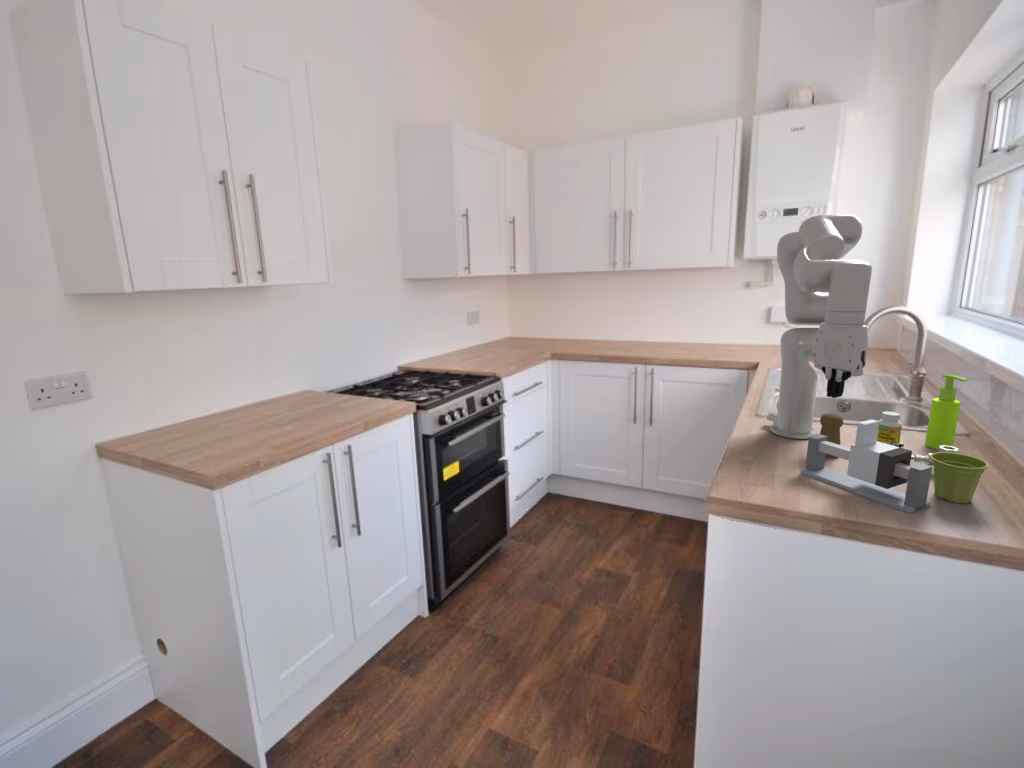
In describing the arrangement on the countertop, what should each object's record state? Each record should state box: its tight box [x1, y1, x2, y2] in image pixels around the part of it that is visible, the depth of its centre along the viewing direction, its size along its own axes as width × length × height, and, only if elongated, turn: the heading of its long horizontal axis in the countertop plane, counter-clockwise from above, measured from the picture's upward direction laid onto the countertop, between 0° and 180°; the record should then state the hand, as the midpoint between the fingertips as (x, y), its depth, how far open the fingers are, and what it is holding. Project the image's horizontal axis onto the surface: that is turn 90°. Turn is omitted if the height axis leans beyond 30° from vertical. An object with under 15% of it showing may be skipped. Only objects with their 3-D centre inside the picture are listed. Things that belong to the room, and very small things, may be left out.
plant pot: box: [930, 451, 989, 504], centre depth 110 cm, size 9×9×9 cm
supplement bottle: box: [877, 411, 903, 446], centre depth 141 cm, size 5×5×10 cm
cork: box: [819, 413, 844, 459], centre depth 136 cm, size 6×6×11 cm
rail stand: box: [800, 433, 933, 514], centre depth 116 cm, size 24×7×9 cm, turn 25°
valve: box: [895, 443, 960, 467], centre depth 124 cm, size 7×7×12 cm
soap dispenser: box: [924, 374, 969, 450], centre depth 138 cm, size 6×7×20 cm
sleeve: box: [846, 418, 900, 485], centre depth 113 cm, size 6×7×12 cm
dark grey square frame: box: [875, 447, 913, 489], centre depth 110 cm, size 2×7×7 cm, turn 115°
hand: (834, 396), depth 120 cm, fingers closed
